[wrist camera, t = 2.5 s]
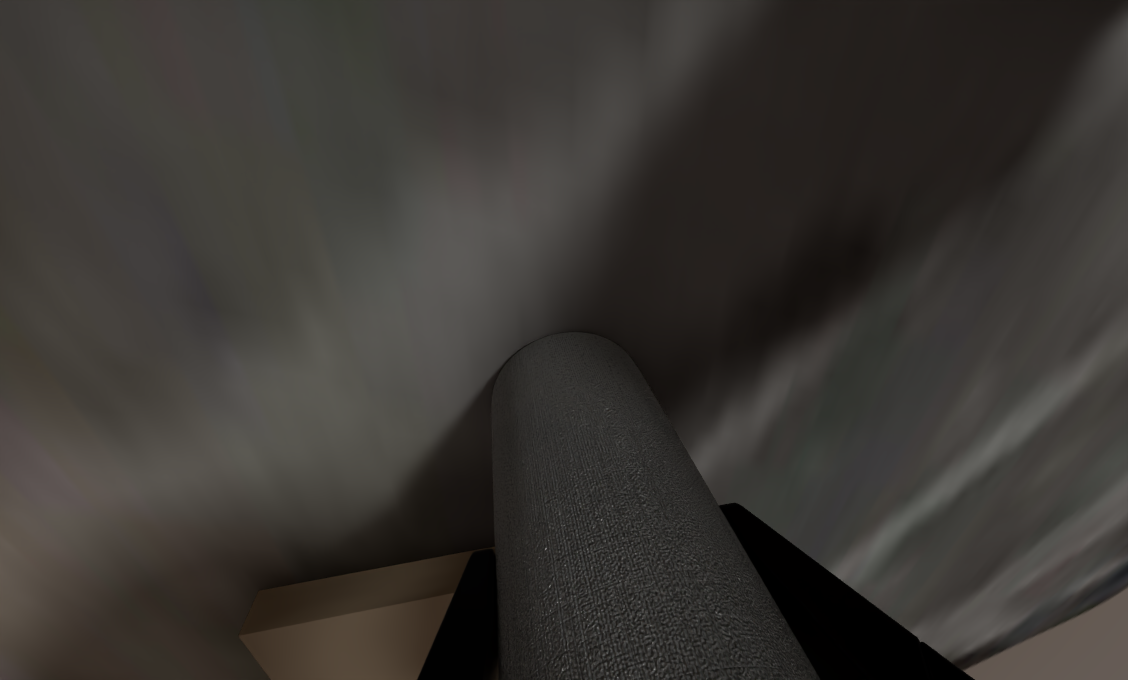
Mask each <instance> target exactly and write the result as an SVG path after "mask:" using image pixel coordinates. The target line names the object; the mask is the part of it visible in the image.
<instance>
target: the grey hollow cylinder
mask: <svg viewBox="0 0 1128 680" xmlns="http://www.w3.org/2000/svg"><path fill="white" fill-rule="evenodd" d="M491 433H492V468H493V502H494V536H495V570H496V604H497V639H498V674H499V680H820V678H819V676H818V675H817V673H816V671H815V670H814V668H813V666H812V664H811V663H810V661H809V659H808V658H807V656H806V654H805V652H804V651H803V649H802V647H801V646H800V644H799V642H798V641H797V639H796V637H795V635H794V634H793V632H792V630H791V629H790V627H789V625H788V623H787V622H786V620H785V618H784V617H783V615H782V613H781V611H780V610H779V608H778V606H777V605H776V603H775V601H774V599H773V598H772V596H771V594H770V593H769V591H768V589H767V587H766V586H765V584H764V582H763V581H762V579H761V577H760V575H759V574H758V572H757V570H756V569H755V567H754V565H753V563H752V562H751V560H750V558H749V557H748V555H747V553H746V551H745V550H744V548H743V546H742V545H741V543H740V541H739V539H738V538H737V536H736V534H735V533H734V531H733V529H732V527H731V526H730V524H729V522H728V521H727V519H726V517H725V515H724V514H723V512H722V510H721V509H720V507H719V505H718V504H717V502H716V500H715V498H714V497H713V495H712V493H711V492H710V490H709V488H708V486H707V485H706V483H705V481H704V480H703V478H702V476H701V474H700V473H699V471H698V469H697V468H696V466H695V464H694V462H693V461H692V459H691V457H690V456H689V454H688V452H687V450H686V449H685V447H684V445H683V444H682V442H681V440H680V438H679V437H678V435H677V433H676V432H675V430H674V428H673V426H672V425H671V423H670V421H669V420H668V418H667V416H666V414H665V413H664V411H663V409H662V408H661V406H660V404H659V402H658V401H657V399H656V397H655V396H654V394H653V392H652V390H651V389H650V387H649V385H648V384H647V382H646V380H645V379H644V377H643V375H642V373H641V372H640V370H639V369H638V367H637V366H636V364H635V363H634V361H633V360H632V359H631V357H630V356H629V355H628V354H627V353H626V352H625V351H624V350H623V349H622V348H621V347H620V346H618V345H617V344H616V343H614V342H612V341H610V340H608V339H606V338H604V337H601V336H598V335H595V334H590V333H583V332H566V333H559V334H554V335H550V336H547V337H544V338H541V339H539V340H537V341H534V342H532V343H531V344H529V345H527V346H525V347H524V348H522V349H521V350H520V351H518V352H517V353H516V354H515V355H514V356H513V357H512V358H511V359H510V360H509V361H508V362H507V363H506V364H505V366H504V367H503V368H502V370H501V372H500V373H499V375H498V377H497V379H496V382H495V384H494V388H493V393H492V403H491Z"/></svg>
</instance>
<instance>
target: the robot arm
mask: <svg viewBox="0 0 1128 680" xmlns="http://www.w3.org/2000/svg"><path fill="white" fill-rule="evenodd" d="M719 507H720V509H721V510H722V512H723V514H724V515H725V517H726V519H727V521H728V522H729V524H730V526H731V527H732V529H733V531H734V533H735V534H736V536H737V538H738V539H739V541H740V543H741V545H742V546H743V548H744V550H745V551H746V553H747V555H748V557H749V558H750V560H751V562H752V563H753V565H754V567H755V569H756V570H757V572H758V574H759V575H760V577H761V579H762V581H763V582H764V584H765V586H766V587H767V589H768V591H769V593H770V594H771V596H772V598H773V599H774V601H775V603H776V605H777V606H778V608H779V610H780V611H781V613H782V615H783V617H784V618H785V620H786V622H787V623H788V625H789V627H790V629H791V630H792V632H793V634H794V635H795V637H796V639H797V641H798V642H799V644H800V646H801V647H802V649H803V651H804V652H805V654H806V656H807V658H808V659H809V661H810V663H811V664H812V666H813V668H814V670H815V671H816V673H817V675H818V676H819V678H820V680H975V679H973V678H972V677H970V676H969V675H968V674H966V673H965V672H964V671H962V670H961V669H959V668H958V667H957V666H955V665H954V664H953V663H951V662H950V661H948V660H947V659H946V658H944V657H943V656H942V655H940V654H939V653H938V652H936V651H935V650H934V649H932V648H931V647H930V646H928V645H927V644H926V643H924V642H920V641H919V639H918V638H917V637H916V636H915V635H913V634H912V633H911V632H909V631H908V630H907V629H905V628H904V627H903V626H901V625H900V624H899V623H897V622H896V621H895V620H893V619H892V618H891V617H889V616H888V615H887V614H885V613H884V612H883V611H881V610H880V609H879V608H877V607H876V606H875V605H873V604H872V603H871V602H869V601H868V600H867V599H865V598H864V597H863V596H861V595H860V594H859V593H857V592H856V591H855V590H853V589H852V588H851V587H849V586H848V585H847V584H845V583H844V582H843V581H841V580H840V579H839V578H837V577H836V576H835V575H833V574H832V573H831V572H829V571H828V570H827V569H825V568H824V567H823V566H821V565H820V564H819V563H817V562H816V561H815V560H813V559H812V558H811V557H809V556H808V555H807V554H805V553H804V552H803V551H801V550H800V549H799V548H797V547H796V546H795V545H793V544H792V543H791V542H789V541H788V540H787V539H785V538H784V537H783V536H781V535H780V534H779V533H777V532H776V531H775V530H773V529H772V528H771V527H769V526H768V525H767V524H765V523H764V522H763V521H761V520H760V519H759V518H757V517H756V516H755V515H753V514H752V513H751V512H749V511H748V510H747V509H745V508H744V507H743V506H741V505H740V504H738V503H729V504H724V505H720V506H719ZM417 680H499V674H498V639H497V604H496V570H495V553H494V550H493V549H491V548H488V549H483V550H478V551H474V552H473V553H472V554H471V556H470V558H469V560H468V562H467V565H466V567H465V569H464V572H463V574H462V576H461V578H460V581H459V583H458V585H457V588H456V590H455V592H454V595H453V597H452V599H451V602H450V604H449V606H448V609H447V611H446V613H445V616H444V618H443V620H442V623H441V625H440V627H439V630H438V632H437V634H436V636H435V639H434V641H433V643H432V646H431V648H430V650H429V653H428V655H427V657H426V660H425V662H424V664H423V667H422V669H421V671H420V674H419V676H418V678H417Z"/></svg>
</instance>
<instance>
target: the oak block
mask: <svg viewBox="0 0 1128 680" xmlns="http://www.w3.org/2000/svg"><path fill="white" fill-rule="evenodd" d="M489 548H491V549H493V550H494V553H495V546H494V547H489ZM483 549H488V548H483ZM483 549H478V550H483ZM478 550H473V551H467V552H462V553H457V554H452V555H446V556H441V557H436V558H430V559H425V560H420V561H414V562H409V563H404V564H398V565H393V566H388V567H382V568H377V569H372V570H366V571H361V572H356V573H351V574H345V575H340V576H335V577H329V578H324V579H319V580H313V581H308V582H303V583H297V584H292V585H287V586H281V587H276V588H271V589H266V590H260V591H258V593H257V595H256V598H255V600H254V602H253V604H252V606H251V609H250V611H249V613H248V615H247V618H246V620H245V622H244V624H243V626H242V629H241V631H240V633H239V635H238V637H239V638H240V639H241V641H242V642H243V643H244V645H245V646H246V647H247V649H248V650H249V651H250V653H251V654H252V655H253V657H254V658H255V659H256V661H257V662H258V663H259V665H260V666H261V667H262V669H263V670H264V671H265V673H266V674H267V675H268V677H269V678H270V679H271V680H417V678H418V676H419V674H420V671H421V669H422V667H423V664H424V662H425V660H426V657H427V655H428V653H429V650H430V648H431V646H432V643H433V641H434V639H435V636H436V634H437V632H438V630H439V627H440V625H441V623H442V620H443V618H444V616H445V613H446V611H447V609H448V606H449V604H450V602H451V599H452V597H453V595H454V592H455V590H456V588H457V585H458V583H459V581H460V578H461V576H462V574H463V572H464V569H465V567H466V565H467V562H468V560H469V558H470V556H471V554H472V553H473V552H474V551H478Z"/></svg>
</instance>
